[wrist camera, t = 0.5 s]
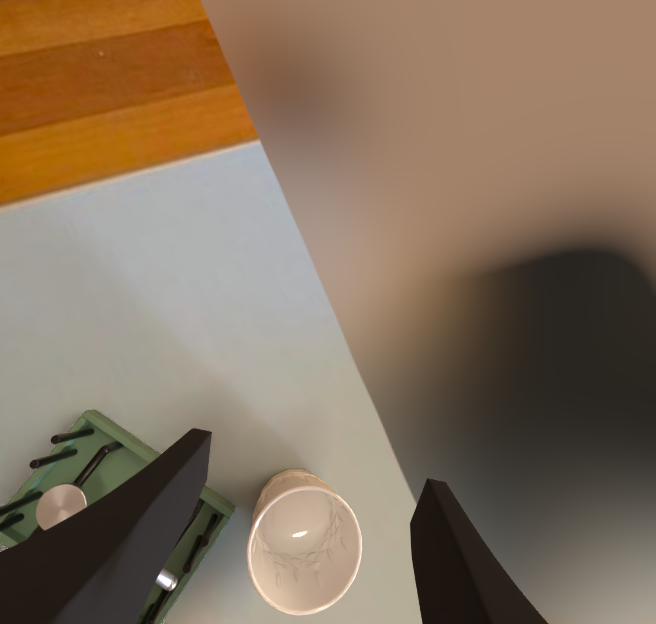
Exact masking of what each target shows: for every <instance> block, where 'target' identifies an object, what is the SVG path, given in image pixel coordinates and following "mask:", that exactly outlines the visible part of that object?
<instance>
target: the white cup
mask: <svg viewBox="0 0 656 624" xmlns="http://www.w3.org/2000/svg"><path fill="white" fill-rule="evenodd" d="M361 553H362V538H361V532H360V528H359V524H358V521H357V519H356V517H355V515H354V513H353V511H352V510H351V508H350V507H349V506H348V504H347V503H346V502H345V501H344V500H343V499H342V498H341V497H340V496H339V495H338V494H337V493H336V492H335V491H334V490H333V489H332V488H331V487H330V486H328V485H327V484H326V483H325V482H324V481H322V480H321V479H320V478H318V477H317V476H315V475H313V474H311V473H309V472H308V471H306V470H304V469H287V470H285V471H283V472H281V473H279V474H277V475H275V476H273V477H272V478H271V479H270V481H269V482H268V483H267V484H266V485H265V487H264V488H263V489H262V491H261V494H260V498H259V500H258V502H257V504H256V508H255V511H254V515H253V519H252V524H251V529H250V534H249V539H248V544H247V567H248V572H249V575H250V578H251V581H252V583H253V585H254V587H255V589H256V591H257V592H258V593H259V595H260V596H261V597H262V598H263V599H264V600H265V601H266V602H267V603H268V604H269V605H270V606H272V607H273V608H275V609H277V610H279V611H281V612H284V613H287V614H292V615H308V614H313V613H316V612H319V611H322V610H324V609H326V608H327V607H329V606H331V605H332V604H334V603H335V602H336V601H337V600H338V599H340V598H341V597H342V596H343V594H344V593H345V592H346V591H347V589H348V588H349V587H350V585H351V583H352V582H353V580H354V578H355V576H356V573H357V571H358V568H359V564H360V560H361Z"/></svg>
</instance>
